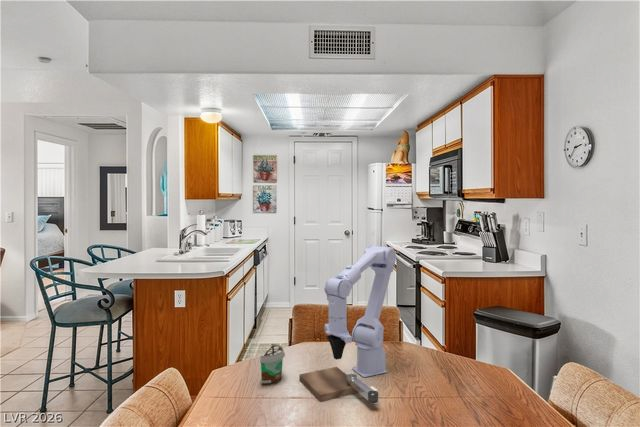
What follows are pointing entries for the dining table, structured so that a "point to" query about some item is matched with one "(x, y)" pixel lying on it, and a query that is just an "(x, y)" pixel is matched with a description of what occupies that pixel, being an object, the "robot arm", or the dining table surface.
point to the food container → (272, 365)
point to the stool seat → (327, 383)
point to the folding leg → (362, 388)
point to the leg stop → (374, 390)
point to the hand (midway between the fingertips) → (337, 358)
